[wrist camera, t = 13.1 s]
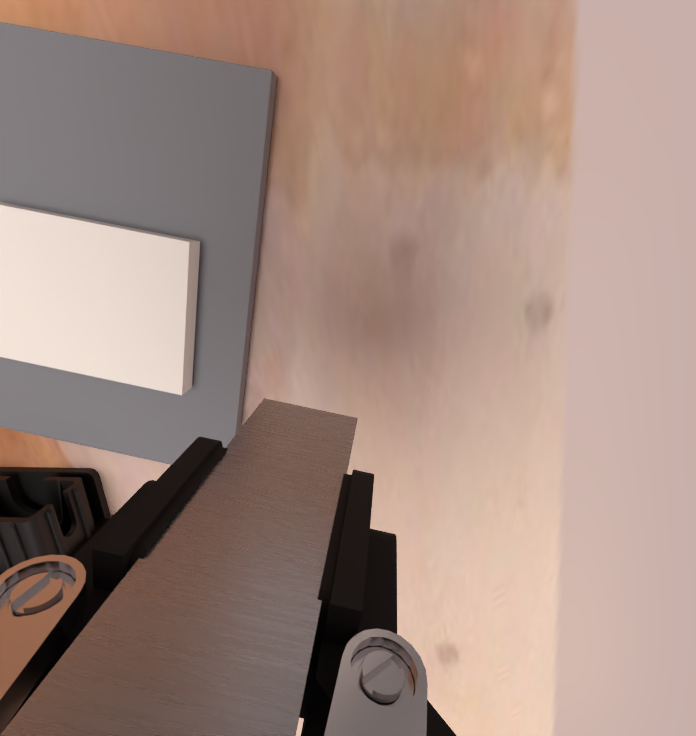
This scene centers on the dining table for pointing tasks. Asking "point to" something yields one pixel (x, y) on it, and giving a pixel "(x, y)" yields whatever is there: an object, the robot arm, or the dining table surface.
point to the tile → (98, 298)
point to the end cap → (48, 512)
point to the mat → (140, 216)
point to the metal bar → (213, 599)
